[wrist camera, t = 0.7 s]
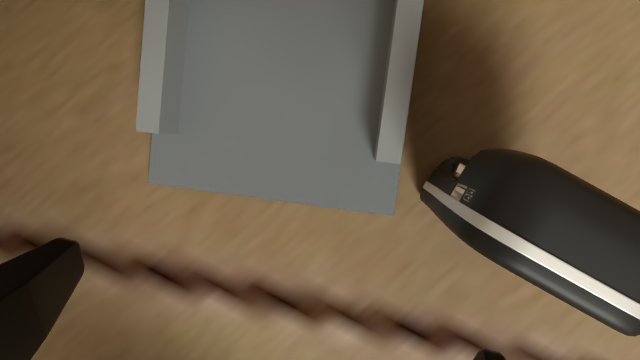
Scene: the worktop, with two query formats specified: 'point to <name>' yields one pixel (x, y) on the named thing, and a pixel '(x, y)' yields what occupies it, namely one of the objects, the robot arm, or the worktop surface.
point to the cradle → (280, 97)
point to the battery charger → (545, 230)
